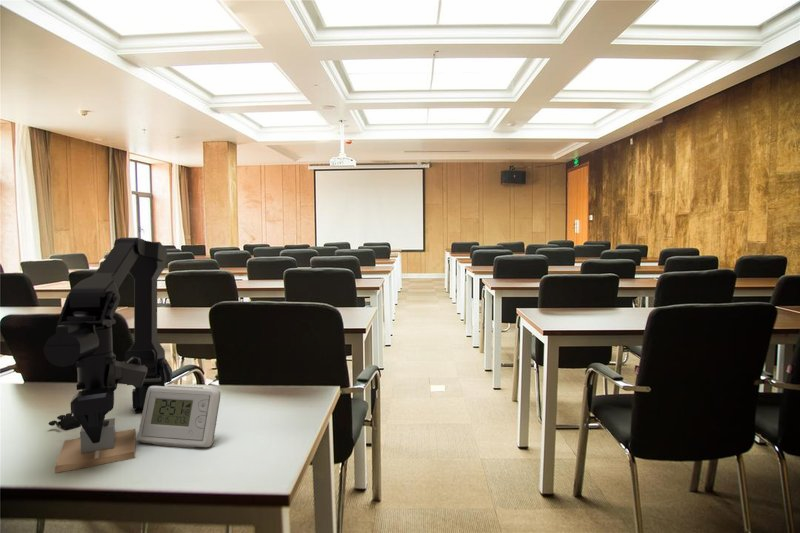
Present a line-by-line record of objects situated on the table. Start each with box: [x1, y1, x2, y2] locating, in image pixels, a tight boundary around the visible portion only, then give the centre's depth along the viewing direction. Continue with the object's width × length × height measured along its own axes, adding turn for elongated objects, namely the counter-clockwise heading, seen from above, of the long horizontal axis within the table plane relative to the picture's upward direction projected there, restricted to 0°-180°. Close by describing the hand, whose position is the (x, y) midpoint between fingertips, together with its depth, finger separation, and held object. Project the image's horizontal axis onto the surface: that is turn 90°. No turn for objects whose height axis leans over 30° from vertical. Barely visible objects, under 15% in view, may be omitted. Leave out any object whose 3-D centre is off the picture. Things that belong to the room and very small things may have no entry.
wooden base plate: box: [54, 426, 137, 474], centre depth 90 cm, size 12×12×5 cm
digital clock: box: [137, 385, 221, 449], centre depth 95 cm, size 16×9×11 cm, turn 69°
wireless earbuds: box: [48, 412, 81, 431], centre depth 103 cm, size 7×2×5 cm
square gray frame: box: [79, 417, 116, 453], centre depth 90 cm, size 5×5×5 cm
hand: (98, 433), depth 90 cm, fingers open, 9 cm apart
